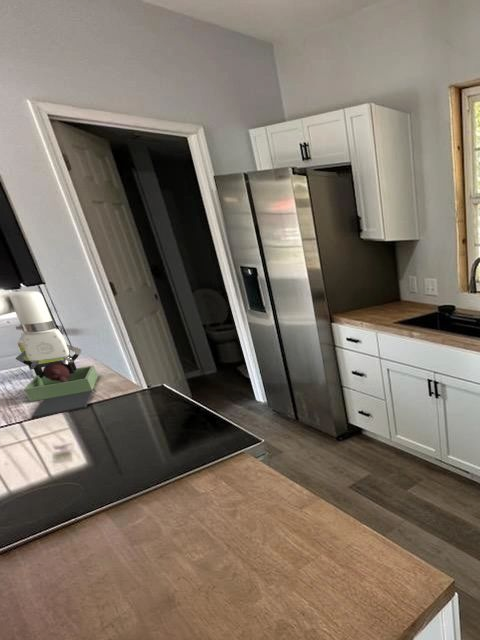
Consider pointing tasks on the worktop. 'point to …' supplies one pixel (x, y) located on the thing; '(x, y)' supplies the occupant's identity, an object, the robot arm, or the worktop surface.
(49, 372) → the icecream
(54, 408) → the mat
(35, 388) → the basket
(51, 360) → the tea box
